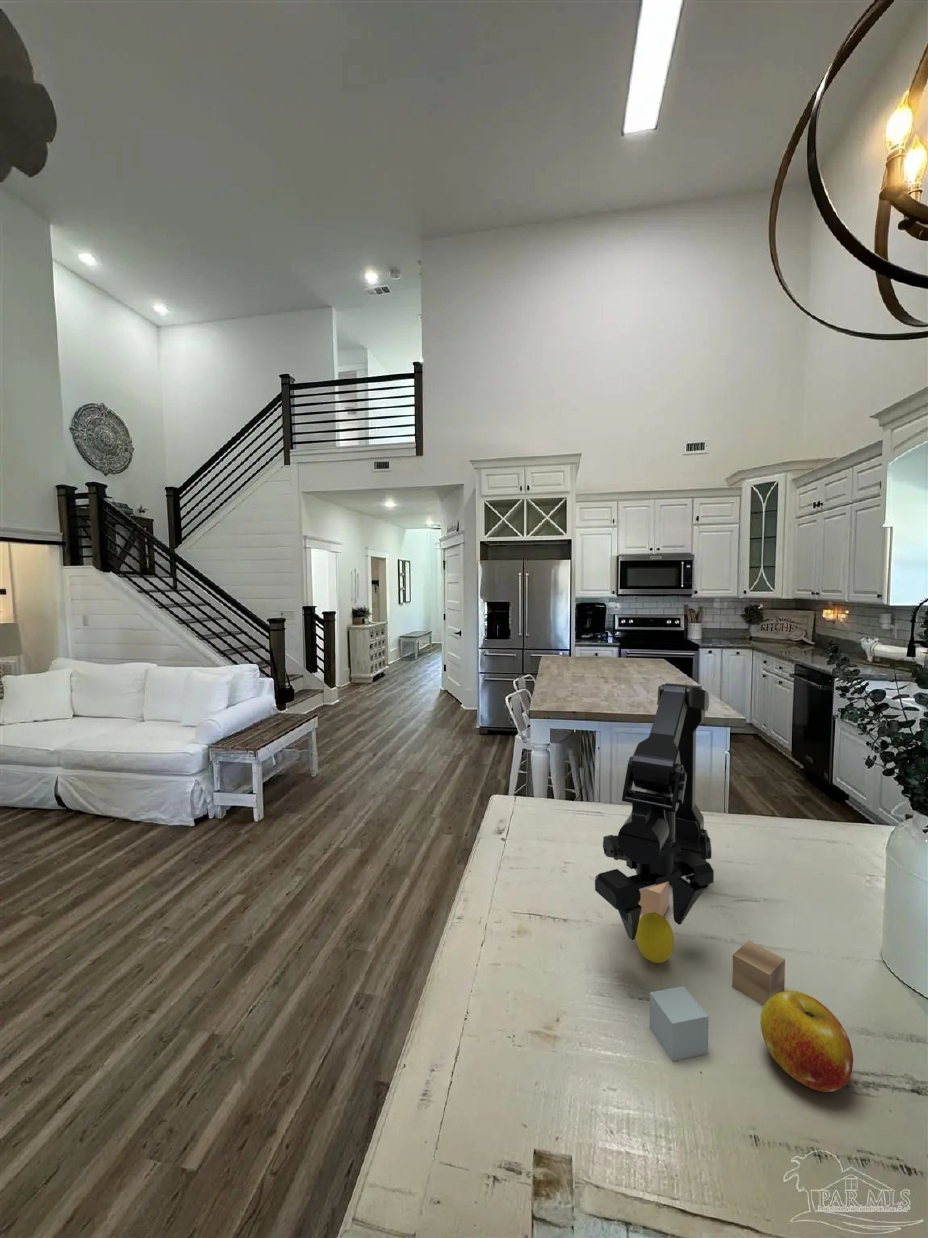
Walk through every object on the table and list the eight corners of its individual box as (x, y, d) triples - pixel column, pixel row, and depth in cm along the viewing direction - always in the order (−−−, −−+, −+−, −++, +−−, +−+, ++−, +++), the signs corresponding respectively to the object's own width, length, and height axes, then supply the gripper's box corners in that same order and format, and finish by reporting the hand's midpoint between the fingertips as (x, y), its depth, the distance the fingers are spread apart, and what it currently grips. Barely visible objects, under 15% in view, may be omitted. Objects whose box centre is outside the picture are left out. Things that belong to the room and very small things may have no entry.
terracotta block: (641, 897, 97) (641, 871, 96) (668, 907, 94) (668, 880, 93) (632, 910, 93) (632, 883, 93) (660, 921, 90) (660, 893, 89)
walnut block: (748, 971, 78) (748, 940, 77) (784, 992, 74) (785, 959, 73) (732, 987, 75) (732, 954, 74) (769, 1009, 71) (769, 975, 70)
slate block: (683, 1021, 69) (683, 986, 69) (708, 1054, 64) (708, 1016, 64) (649, 1028, 68) (649, 992, 68) (672, 1062, 63) (672, 1023, 63)
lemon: (677, 978, 76) (677, 926, 76) (638, 973, 78) (638, 922, 77) (669, 952, 82) (670, 904, 81) (633, 948, 83) (633, 900, 83)
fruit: (874, 1101, 58) (876, 1034, 57) (805, 1117, 56) (807, 1048, 56) (804, 1030, 67) (805, 972, 67) (743, 1042, 66) (744, 982, 65)
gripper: (664, 803, 90) (663, 889, 90) (574, 822, 83) (574, 915, 84) (716, 830, 79) (715, 927, 80) (618, 855, 72) (618, 961, 73)
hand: (654, 930), depth 80 cm, fingers open, 9 cm apart
